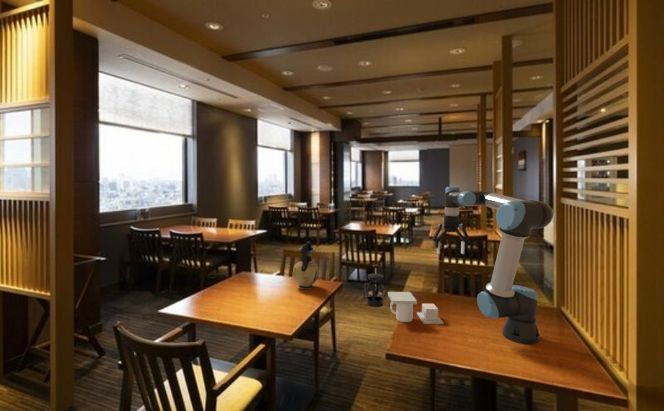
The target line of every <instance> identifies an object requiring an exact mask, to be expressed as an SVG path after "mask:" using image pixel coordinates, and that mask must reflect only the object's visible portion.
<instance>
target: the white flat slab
mask: <svg viewBox="0 0 664 411" xmlns="http://www.w3.org/2000/svg"><path fill="white" fill-rule="evenodd" d="M387 296H388V298H389V301H390V303H391V302H392V304H393V305H396V304H413V305H418V301H417V299H416V297H415V296H414V295H413V293H412V292H410V291H397V292H396V291H388V292H387Z"/></svg>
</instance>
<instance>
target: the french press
mask: <svg viewBox="0 0 664 411" xmlns="http://www.w3.org/2000/svg"><path fill="white" fill-rule="evenodd" d="M371 266H372V267H374V269H375V270H374V271H375V273H368V274H367V277H368V280H369V282H365V283H364V284H363V287H364V288H363V298H364V299H365V300H367V301H366V305H367V306H368V307H372V308H380V307H383V306H384V283H383V282H381V279H382V278H384V274H381V273H377V268H378V267H380V265H379V264H372V265H371ZM366 285H367V288H370V289H372V290H370V291H369V290H366ZM379 289H382V291H379ZM366 291H367V296H366Z"/></svg>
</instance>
